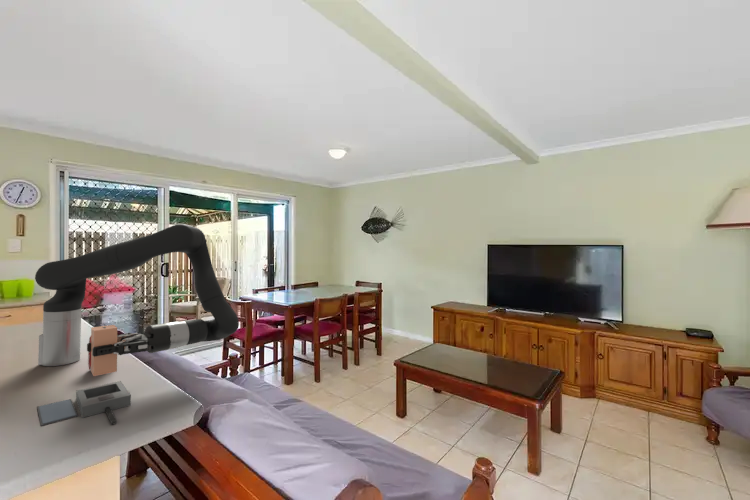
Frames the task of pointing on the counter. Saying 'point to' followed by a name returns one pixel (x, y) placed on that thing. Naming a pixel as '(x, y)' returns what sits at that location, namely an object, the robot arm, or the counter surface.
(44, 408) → the phone
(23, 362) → the counter surface
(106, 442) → the counter surface
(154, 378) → the counter surface
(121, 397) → the power strip
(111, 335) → the block
